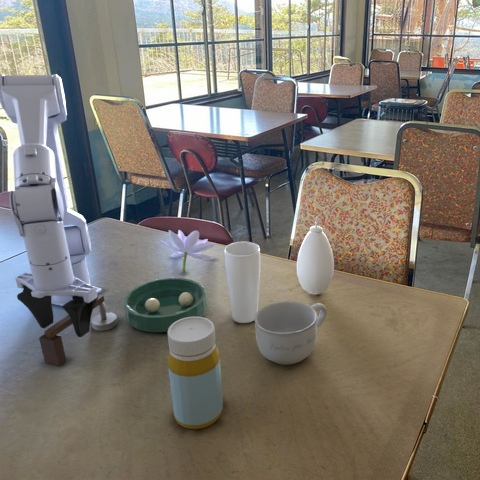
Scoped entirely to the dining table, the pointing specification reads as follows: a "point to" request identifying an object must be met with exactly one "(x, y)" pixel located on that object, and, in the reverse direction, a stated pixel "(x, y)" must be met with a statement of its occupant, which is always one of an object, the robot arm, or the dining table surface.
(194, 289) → the bowl
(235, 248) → the white tumbler
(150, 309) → the ball
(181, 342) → the bottle
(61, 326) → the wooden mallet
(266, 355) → the teacup
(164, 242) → the water lily
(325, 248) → the sauce bottle
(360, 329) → the dining table surface
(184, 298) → the ball
